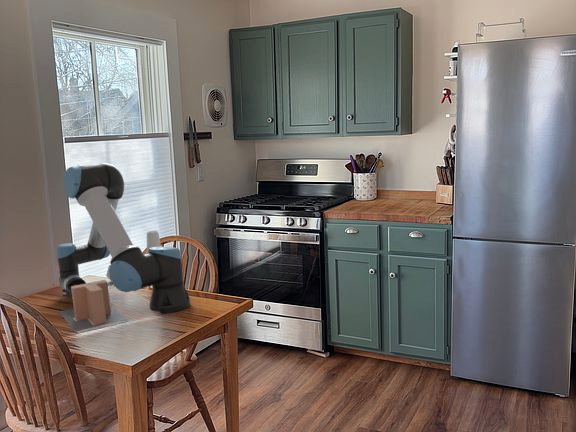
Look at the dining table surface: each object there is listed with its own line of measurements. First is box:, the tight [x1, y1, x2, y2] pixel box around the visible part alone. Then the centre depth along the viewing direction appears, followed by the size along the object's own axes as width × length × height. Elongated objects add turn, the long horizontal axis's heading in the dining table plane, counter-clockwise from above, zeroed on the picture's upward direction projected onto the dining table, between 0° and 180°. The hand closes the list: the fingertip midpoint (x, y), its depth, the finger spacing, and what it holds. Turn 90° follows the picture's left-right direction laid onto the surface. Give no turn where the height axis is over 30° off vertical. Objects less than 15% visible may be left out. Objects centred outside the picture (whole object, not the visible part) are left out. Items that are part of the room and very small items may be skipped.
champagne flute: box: [146, 230, 162, 289], centre depth 249 cm, size 7×7×24 cm
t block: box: [71, 279, 111, 325], centre depth 207 cm, size 13×12×12 cm
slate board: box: [58, 304, 128, 335], centre depth 212 cm, size 28×18×1 cm, turn 32°
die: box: [105, 264, 111, 281], centre depth 263 cm, size 8×9×10 cm
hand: (89, 298), depth 212 cm, fingers closed
